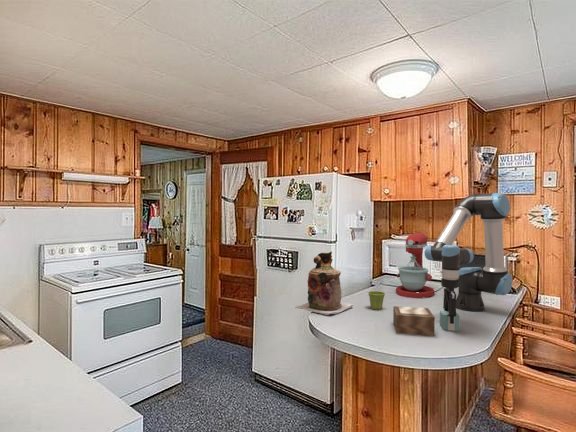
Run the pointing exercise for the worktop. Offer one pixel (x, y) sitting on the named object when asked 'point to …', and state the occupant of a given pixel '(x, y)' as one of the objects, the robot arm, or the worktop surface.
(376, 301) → the plant pot
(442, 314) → the teal cube
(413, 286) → the stand mixer
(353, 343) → the worktop surface
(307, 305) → the cookie jar
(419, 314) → the walnut block
